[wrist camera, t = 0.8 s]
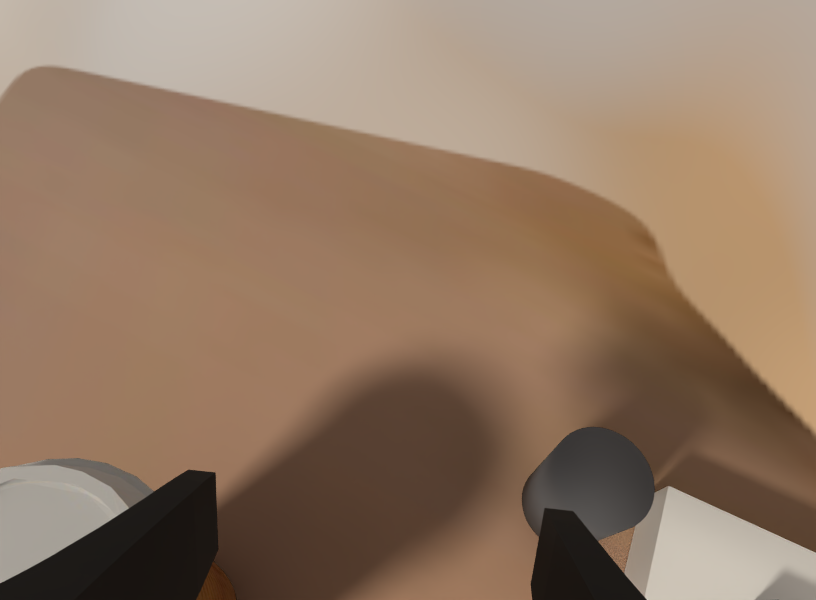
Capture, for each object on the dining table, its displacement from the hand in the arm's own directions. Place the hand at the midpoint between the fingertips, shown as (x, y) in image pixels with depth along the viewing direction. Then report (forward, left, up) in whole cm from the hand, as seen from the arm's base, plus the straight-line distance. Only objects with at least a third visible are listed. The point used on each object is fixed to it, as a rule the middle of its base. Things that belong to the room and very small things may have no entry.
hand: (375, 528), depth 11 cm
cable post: (+1, -9, -15) cm, 17 cm away
